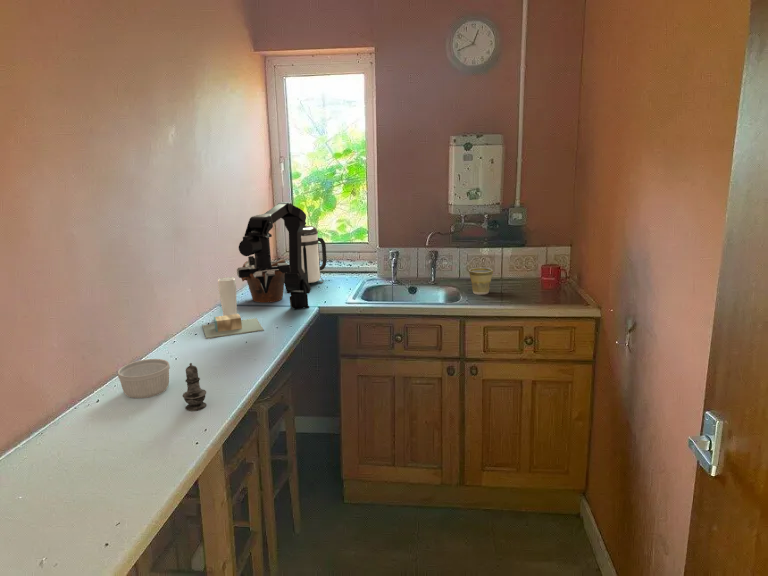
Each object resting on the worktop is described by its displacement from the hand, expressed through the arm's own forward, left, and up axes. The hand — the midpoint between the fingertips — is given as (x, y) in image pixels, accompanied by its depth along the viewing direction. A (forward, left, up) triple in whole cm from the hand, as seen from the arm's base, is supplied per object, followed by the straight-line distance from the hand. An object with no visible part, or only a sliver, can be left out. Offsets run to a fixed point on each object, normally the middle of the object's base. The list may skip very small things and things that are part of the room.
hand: (265, 293), depth 218 cm
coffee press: (-30, -59, -12) cm, 67 cm away
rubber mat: (+13, -1, -12) cm, 18 cm away
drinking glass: (+12, -18, -12) cm, 25 cm away
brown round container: (-6, -38, -12) cm, 40 cm away
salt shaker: (+30, +64, -12) cm, 72 cm away
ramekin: (+42, +47, -12) cm, 64 cm away
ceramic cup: (-93, -4, -12) cm, 94 cm away
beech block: (+10, -1, -10) cm, 14 cm away
